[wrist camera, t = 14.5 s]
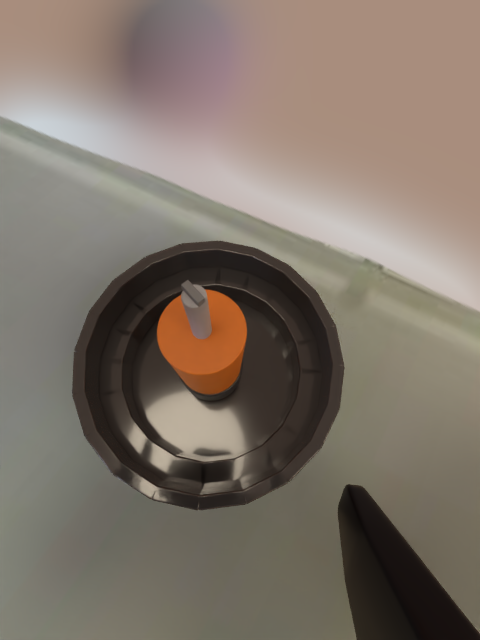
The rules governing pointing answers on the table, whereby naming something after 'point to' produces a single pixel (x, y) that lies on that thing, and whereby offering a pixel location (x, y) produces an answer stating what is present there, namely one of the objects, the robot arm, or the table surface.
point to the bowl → (201, 415)
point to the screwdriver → (204, 341)
